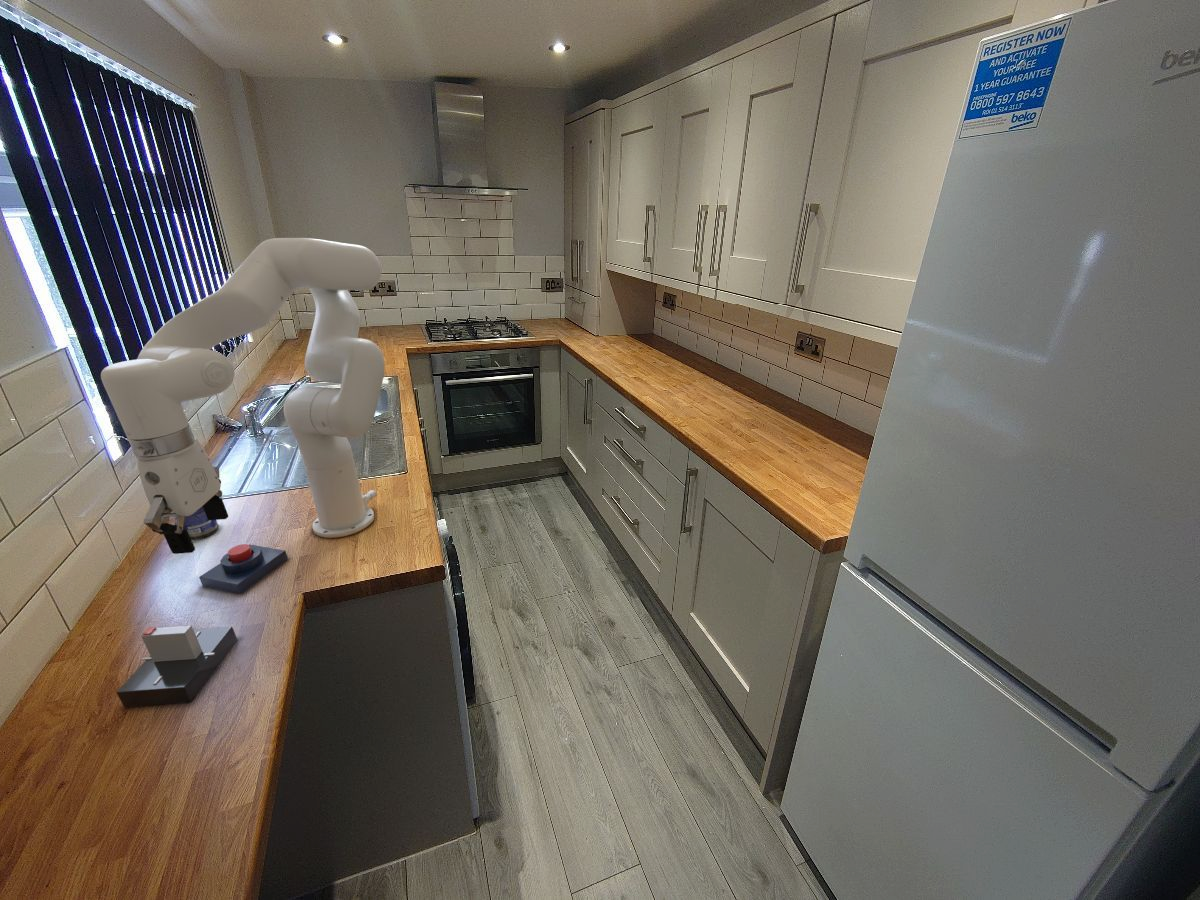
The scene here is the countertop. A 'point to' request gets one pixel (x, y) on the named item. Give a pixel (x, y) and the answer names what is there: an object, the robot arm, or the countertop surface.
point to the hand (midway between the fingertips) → (202, 534)
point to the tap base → (178, 672)
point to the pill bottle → (199, 525)
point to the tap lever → (171, 643)
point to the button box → (243, 570)
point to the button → (240, 553)
